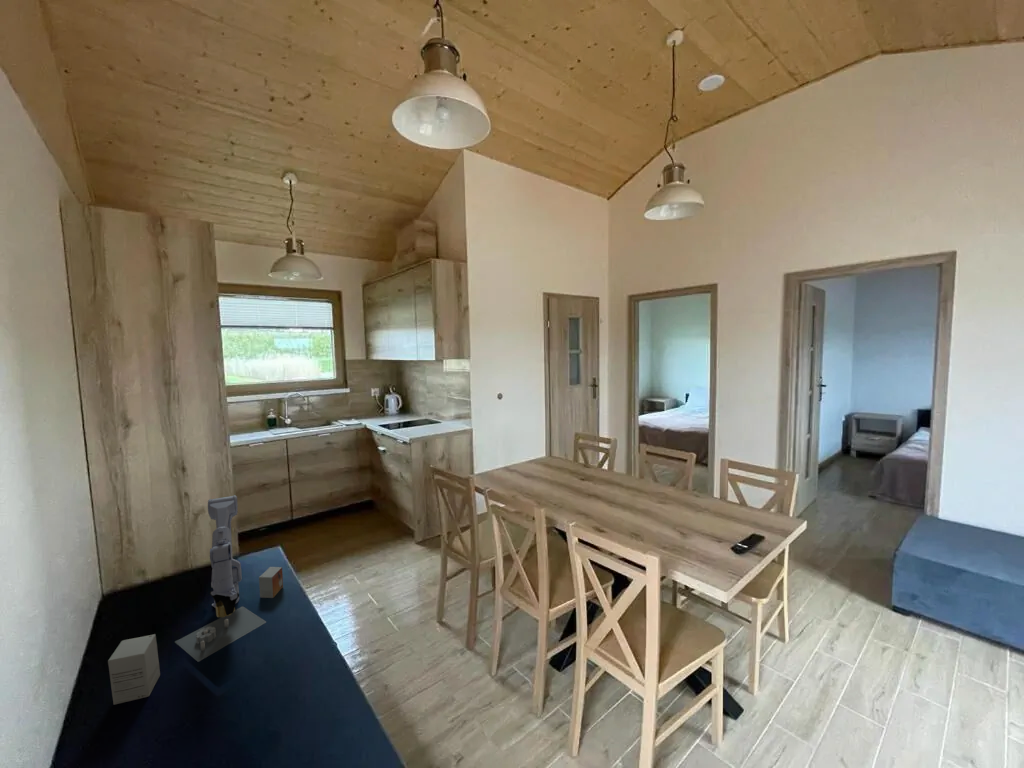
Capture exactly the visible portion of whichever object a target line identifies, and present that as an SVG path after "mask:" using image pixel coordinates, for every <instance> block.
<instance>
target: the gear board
mask: <svg viewBox="0 0 1024 768" xmlns="http://www.w3.org/2000/svg"><path fill="white" fill-rule="evenodd" d="M266 623H267V621H266V620H264V619H263V618H262V617H260V616H259V615H257V614H255V613H253V612H252V611H251V610H249V608H246V607H244V606H243V605H242V606H240V607H239V608H238V607H237V608H235V611H234V613H232V614H231V615H229V616H225V617H221V618H220V617H218V618H217V619H215V620H214V621H211V622H210V623H208V624H206V625H204V626H203V627H200V628H198V629H197V630H195V631H193V632H191V633H188V634H186V635H185V636H182V637H181V638H180V639H177V640H175V641H174V643H175V644H176V645H177V646H179V647H180V648H181V649H182V650H183V651H184V652H186V653H187V654H188V655H189V656H190V657H192V658H193V659H194V660H195V661H197V663H199V662H201V661H202V660H204V659H206V658H207V657H210V656H211V655H213V654H214V653H216V652H218V651H220V650H221V649H223V648H225V647H226V646H229V645H230V644H232V643H234V642H235V641H237V640H238V639H240V638H242V637H243V636H246V635H247V634H249V633H251V632H253V631H254V630H256V629H258V628H259V627H261V626H263V625H265V624H266Z"/></svg>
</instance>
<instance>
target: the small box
mask: <svg viewBox="0 0 1024 768" xmlns="http://www.w3.org/2000/svg"><path fill="white" fill-rule="evenodd" d="M283 575H284V574H283V566H280V567H279V566H269V567H268V568H267V569H266V570H265V571H264V572H263V573H262V574H260V576H258V583H259V585H258V586H259V597H260V599H261V598H262V599H267V598H268V599H273V598H275V596H276V595H277V594H279V592H280V591H281V590H282V589H283V588H284V579H283V578H284V576H283Z"/></svg>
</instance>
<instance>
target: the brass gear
mask: <svg viewBox="0 0 1024 768" xmlns="http://www.w3.org/2000/svg"><path fill="white" fill-rule="evenodd" d="M235 610H236V607H234V611H235ZM233 613H234V612H233ZM231 614H232V613H231ZM231 614H229V615H231ZM215 615H216V617H217V618H221V617H225V616H229V615H226V612H225V608H224V605H223V603H222V602H221V601H219V602H217V603H216V608H215Z"/></svg>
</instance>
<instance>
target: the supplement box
mask: <svg viewBox="0 0 1024 768" xmlns="http://www.w3.org/2000/svg"><path fill="white" fill-rule="evenodd" d="M158 652H159V651H158V643H157V636H156V633H154V634H150V635H143V636H140V637H134V638H129V639H128V638H127V639H123V640H121V641H120V643H119V644H118V646H117V647H116V649H115V650H114V652H113V653H112V654H111V656H110V657H109V659H108V660H107V665H108V671H109V672H108V673H109V679H110V688H111V696H112V701H113V702H112V703H113V705H118V704H123V703H126V702H131V701H132V702H133V701H135V700H136V701H137V700H140V699H143V698H147V697H150V695H151V694H152V691H153V690H154V687H155V685H156V684H157V682H158V680H159V678H160V676H161V671H160V670H161V669H160V662H159V653H158Z"/></svg>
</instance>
